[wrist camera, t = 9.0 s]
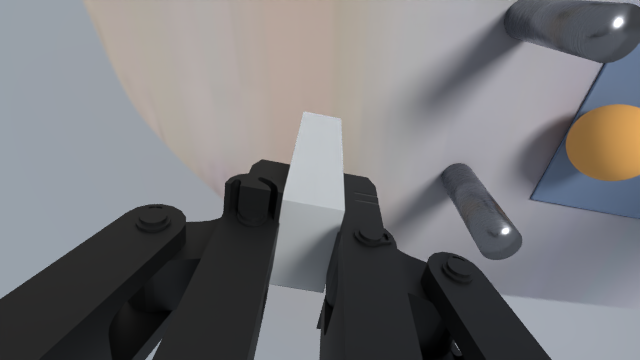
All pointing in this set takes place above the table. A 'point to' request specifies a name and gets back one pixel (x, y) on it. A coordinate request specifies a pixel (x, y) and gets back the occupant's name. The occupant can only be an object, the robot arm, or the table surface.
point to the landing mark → (577, 188)
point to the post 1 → (481, 213)
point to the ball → (606, 143)
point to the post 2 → (577, 27)
